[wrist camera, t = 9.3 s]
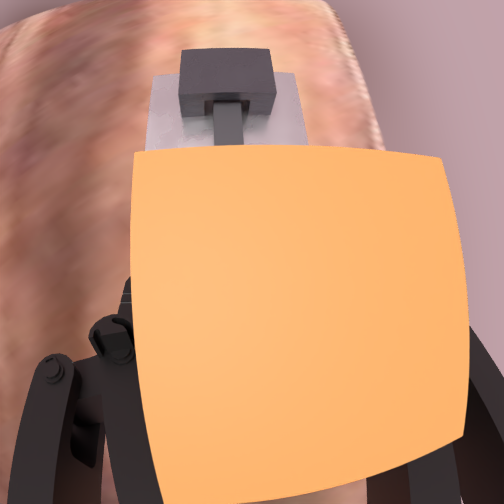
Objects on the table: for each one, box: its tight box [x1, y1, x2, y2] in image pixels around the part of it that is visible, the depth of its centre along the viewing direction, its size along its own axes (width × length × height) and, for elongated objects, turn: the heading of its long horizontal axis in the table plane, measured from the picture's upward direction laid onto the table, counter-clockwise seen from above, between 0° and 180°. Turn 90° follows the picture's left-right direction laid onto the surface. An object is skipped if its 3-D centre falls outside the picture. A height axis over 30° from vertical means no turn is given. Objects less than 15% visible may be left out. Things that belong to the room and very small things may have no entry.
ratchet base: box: [145, 48, 309, 151], centre depth 17 cm, size 28×11×4 cm, turn 4°
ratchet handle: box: [130, 100, 469, 504], centre depth 11 cm, size 20×5×14 cm, turn 4°
